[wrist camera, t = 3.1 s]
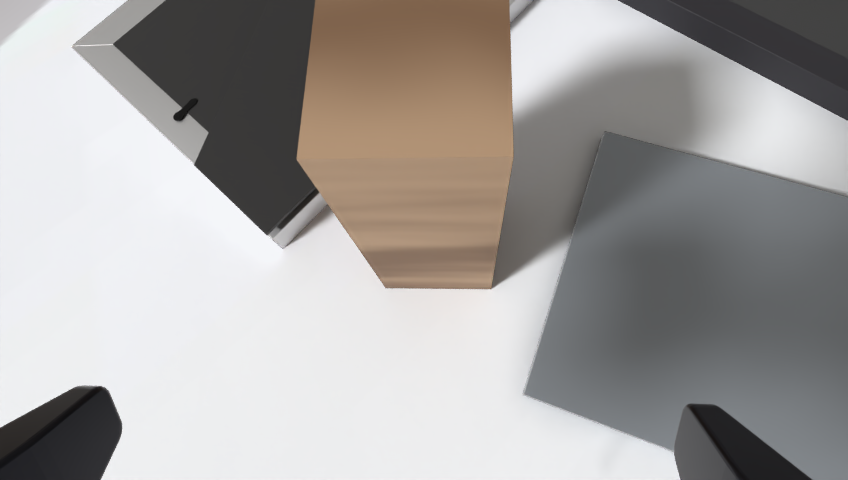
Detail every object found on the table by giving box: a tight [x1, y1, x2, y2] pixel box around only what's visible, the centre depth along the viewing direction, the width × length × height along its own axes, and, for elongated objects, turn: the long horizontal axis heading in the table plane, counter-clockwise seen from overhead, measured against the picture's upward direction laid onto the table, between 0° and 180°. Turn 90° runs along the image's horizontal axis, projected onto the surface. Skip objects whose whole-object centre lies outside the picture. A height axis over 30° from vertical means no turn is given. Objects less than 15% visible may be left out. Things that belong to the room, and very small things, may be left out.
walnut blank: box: [297, 0, 514, 289], centre depth 17 cm, size 4×4×12 cm
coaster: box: [523, 131, 848, 480], centre depth 20 cm, size 12×12×1 cm
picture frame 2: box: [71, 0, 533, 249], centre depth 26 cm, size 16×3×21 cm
